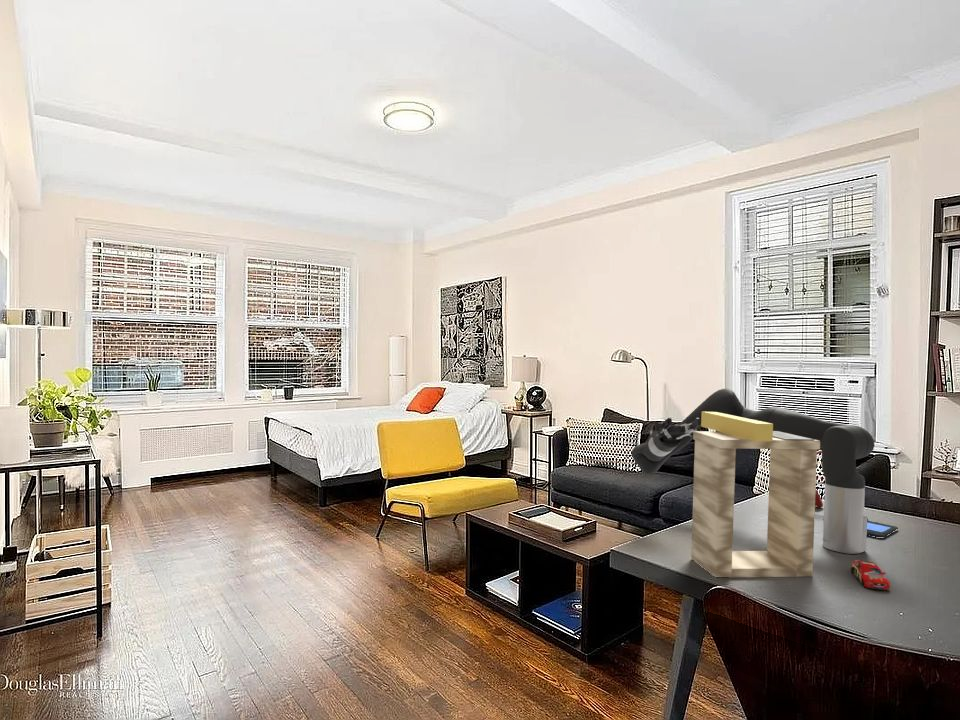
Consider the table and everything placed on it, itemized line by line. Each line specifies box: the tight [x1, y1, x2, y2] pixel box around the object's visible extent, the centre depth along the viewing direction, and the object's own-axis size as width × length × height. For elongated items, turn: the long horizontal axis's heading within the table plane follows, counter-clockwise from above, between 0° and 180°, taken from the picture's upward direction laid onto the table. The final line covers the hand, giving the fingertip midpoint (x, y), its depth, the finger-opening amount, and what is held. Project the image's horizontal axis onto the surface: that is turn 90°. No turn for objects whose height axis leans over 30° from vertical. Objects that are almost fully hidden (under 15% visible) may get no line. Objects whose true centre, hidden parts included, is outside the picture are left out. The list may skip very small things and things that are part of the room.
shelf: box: [690, 430, 821, 578], centre depth 145 cm, size 24×14×32 cm, turn 96°
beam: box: [700, 412, 773, 441], centre depth 148 cm, size 4×26×4 cm, turn 6°
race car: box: [850, 560, 891, 591], centre depth 138 cm, size 13×5×4 cm, turn 161°
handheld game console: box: [867, 517, 899, 538], centre depth 180 cm, size 16×13×9 cm
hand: (684, 420), depth 175 cm, fingers open, 8 cm apart
